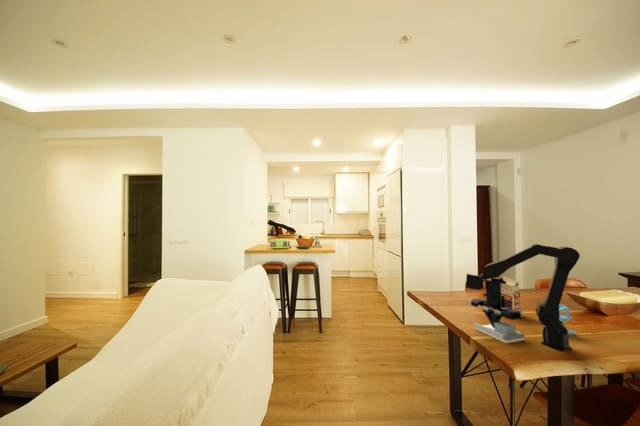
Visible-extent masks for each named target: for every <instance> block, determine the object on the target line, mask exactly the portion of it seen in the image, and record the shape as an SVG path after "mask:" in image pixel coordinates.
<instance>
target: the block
mask: <svg viewBox="0 0 640 426" xmlns="http://www.w3.org/2000/svg"><path fill="white" fill-rule="evenodd" d="M494 326H495V331H497V332H499V333H502V334H504V335H509V334H516V331H517V330H516V329H517V328H516V325H514V324H512V323H509V322H506V321H499V322H495V323H494Z"/></svg>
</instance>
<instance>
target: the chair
mask: <svg viewBox="0 0 640 426" xmlns="http://www.w3.org/2000/svg"><path fill="white" fill-rule="evenodd" d="M563 311H566V313H565V314H564V315H563V314H561V313H562V312H563ZM570 311H571V309H570V308H569V307H568V306H565V304H562V303H560V304H559V320H560V321H561V322H562V323H563V324H564V323H565V322H566V321H570V320H573V318H572V316H570V315H569V313H570ZM567 330H568V332H567V333H568V335H571V336H572V335H575V336H577V332H576V331H574V330H573V331H572V330H570V329H567Z"/></svg>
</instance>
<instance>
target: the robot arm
mask: <svg viewBox="0 0 640 426" xmlns="http://www.w3.org/2000/svg"><path fill="white" fill-rule="evenodd" d="M538 255H541V256H542V255H543V256H546V257H550V258H551V257H552V258H554V270H553V273H552V275H551V276H552V277H551V280H550V283H549V287H548V290H547V292H546V297H545V300H544V301H543V302H539V301H538V302H537V306H536V308H535V310H534V311H535V313H536V316H537V318H538V320H539V322H540V324H542V325H543V326H542V328H543V330H542V331H541V332H542V341H541V342H540V343H541V344H543V345H545V346H546V347H550V348H552V349H555V350H557V351H559V352H563V351H569V350H573V347H572V346H570V340H569V334H568V333H567V332H568V330H569V329H568V328H567V327H566V325H565V324H564V323H562V322H561V321H560V320H559V309H560V308H559V304H561V300H562V298H563V294H564V291H565V287H566V284H567V281H568V277H569V275H570V272H571V271H572V269H574V268H575V266H576V264H577V262H578V261H579V259H580V253H579V251H578V250H576V249H574V248H572V247H569V246H560V247H559V246H558V247H554V246H550V245H549V246H548V245H543V244H539V243H534V244H532V245H531V246H530V247H529V246H528V247H527V248H524V249H523V250H521V251H519V252H516V253H514V254H513V255H510V256H509V257H506V258H504V259H501V260H498V261H493V262H490V263H488V264H486V265H485V268H484V271H483V272H482V273H481V274H480V275H475V274H471V273H467V274H466V278H465V280H466V281H465V288H466V290H467V289H468V290H475V291H482V290H483V289H484V288H485V293H483V296H484V297H485V299H482V298H473V299H471V301H470V305H471V306H473V307H474V308H479V306H481V307H482V308H483V309H482V312H483V313H484V314H485V316H486V317H487V319H488V321H489V324H490V323H491V325H492V326H493V328H495V326H494V323H495V322H501V319H502V318H505V319H508V320H511V321H513V320H514V321H515V320H521V319H522V317H521V313H520V312H519V311H516V310H513V309H511V308H512V304H513V302H511V301H509V300H506V299H504V296H503V295H502V294H501V284H506V281H505V280H504V278H503V276H502V277H500V276H501V275H502V274H505V272H507V271H508V270H509V269H511V268H512V267H514V266H517V265H518V264H521V263H523V262H525V261H528V260H529V259H532V258H534V257H536V256H538ZM484 283H485V284H484ZM484 286H485V287H484ZM506 307H508V308H510V309H502V308H506Z"/></svg>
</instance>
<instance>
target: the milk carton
mask: <svg viewBox="0 0 640 426" xmlns="http://www.w3.org/2000/svg"><path fill="white" fill-rule="evenodd" d="M502 278H503V279H504V280H505V281H506V284H501V294H502V295H503V296H504V299H506V300H509V301H511V302H513V304H512V308H511V309H513V310H516V311H519V312H520V313H521V318H522V317H523V306H522V305H523V304H522V297H521V292H520V291H521V290H520V286H519V283H520V281H519V280H516V279H512V278H510V277H506V276H505V275H502ZM502 309H510V308H508V307H506V308H502Z"/></svg>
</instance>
